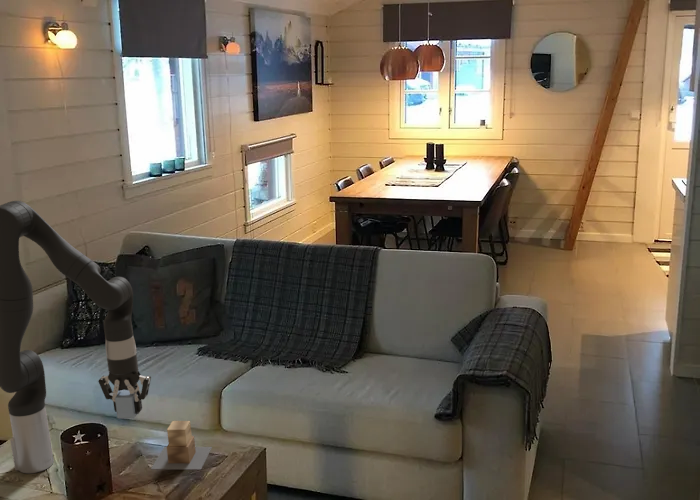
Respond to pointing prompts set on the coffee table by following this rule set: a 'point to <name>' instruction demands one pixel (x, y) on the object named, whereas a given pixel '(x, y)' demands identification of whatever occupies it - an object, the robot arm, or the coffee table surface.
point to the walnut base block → (181, 452)
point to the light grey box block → (125, 405)
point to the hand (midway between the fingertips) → (128, 412)
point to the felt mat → (195, 463)
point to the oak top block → (179, 433)
